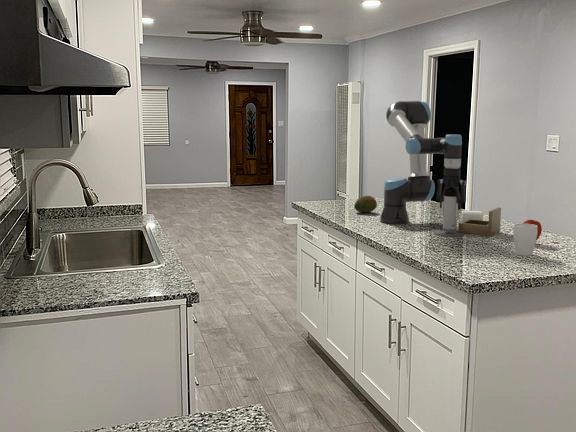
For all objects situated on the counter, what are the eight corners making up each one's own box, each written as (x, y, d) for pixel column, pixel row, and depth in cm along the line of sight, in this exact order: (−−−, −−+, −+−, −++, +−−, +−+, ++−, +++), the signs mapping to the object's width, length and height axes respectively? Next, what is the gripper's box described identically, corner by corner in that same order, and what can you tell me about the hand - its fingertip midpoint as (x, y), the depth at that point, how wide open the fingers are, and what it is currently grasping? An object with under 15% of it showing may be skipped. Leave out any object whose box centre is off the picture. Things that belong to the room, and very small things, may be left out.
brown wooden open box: (458, 233, 279) (459, 208, 277) (468, 228, 290) (469, 205, 288) (490, 237, 270) (492, 211, 268) (499, 232, 281) (501, 207, 279)
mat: (429, 234, 276) (429, 233, 276) (440, 230, 287) (440, 229, 287) (458, 238, 268) (458, 237, 268) (468, 233, 279) (468, 232, 279)
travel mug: (456, 231, 273) (458, 190, 270) (442, 231, 275) (443, 189, 272) (457, 229, 279) (459, 188, 276) (443, 228, 281) (444, 187, 278)
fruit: (379, 213, 338) (380, 196, 337) (363, 215, 331) (364, 198, 330) (366, 210, 348) (366, 194, 346) (350, 212, 341) (350, 195, 339)
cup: (508, 252, 240) (509, 223, 238) (529, 251, 241) (530, 223, 239) (518, 257, 231) (520, 227, 229) (540, 256, 232) (542, 227, 230)
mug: (482, 228, 293) (483, 212, 291) (462, 227, 294) (462, 211, 293) (479, 223, 304) (480, 208, 303) (459, 223, 306) (460, 208, 305)
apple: (517, 241, 260) (518, 217, 259) (536, 241, 260) (537, 217, 258) (524, 245, 252) (525, 221, 250) (544, 245, 252) (545, 221, 250)
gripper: (429, 167, 275) (427, 214, 279) (469, 169, 264) (467, 218, 268) (435, 166, 281) (433, 212, 285) (475, 167, 270) (472, 216, 274)
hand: (450, 215), depth 276 cm, fingers closed on travel mug, 6 cm apart
